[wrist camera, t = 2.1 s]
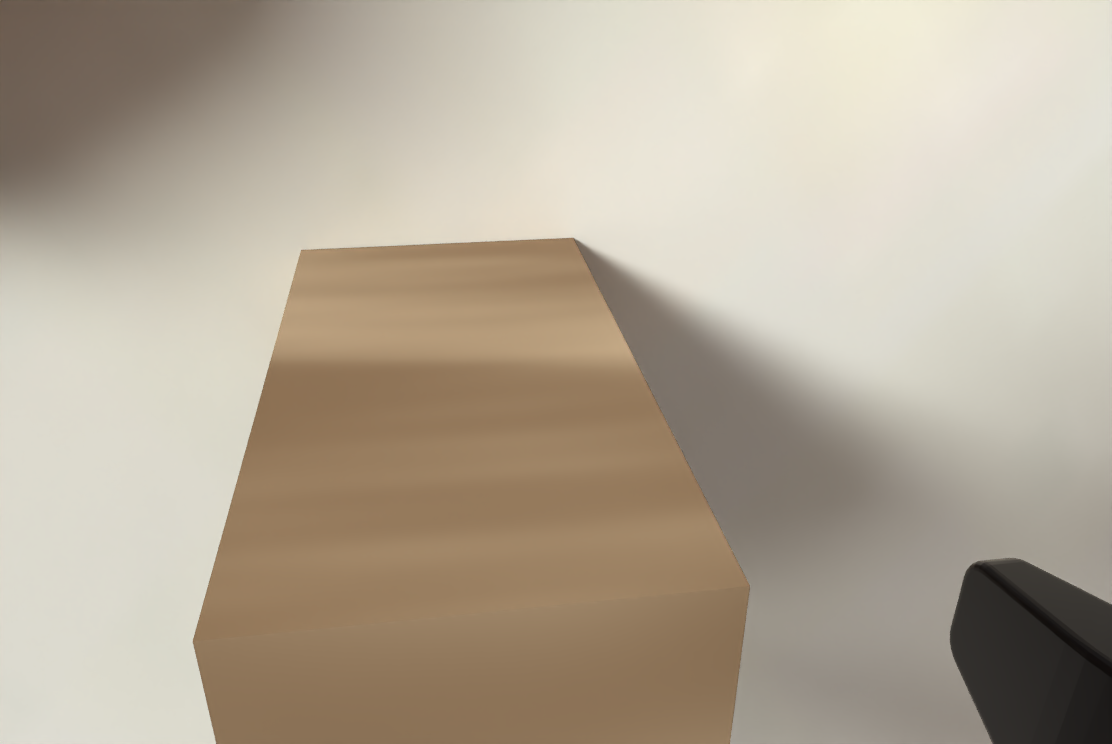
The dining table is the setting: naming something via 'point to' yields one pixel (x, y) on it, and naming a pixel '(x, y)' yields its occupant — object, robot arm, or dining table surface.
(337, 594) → the wooden plank piece
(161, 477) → the dining table surface
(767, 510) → the dining table surface
